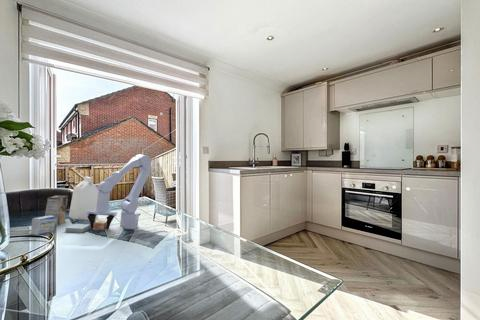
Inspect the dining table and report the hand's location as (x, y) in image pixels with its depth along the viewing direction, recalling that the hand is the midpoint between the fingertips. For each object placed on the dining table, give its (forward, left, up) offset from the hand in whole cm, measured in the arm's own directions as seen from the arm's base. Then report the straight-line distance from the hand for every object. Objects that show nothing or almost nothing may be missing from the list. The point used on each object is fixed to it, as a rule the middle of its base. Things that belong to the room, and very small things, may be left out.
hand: (100, 228), depth 126 cm
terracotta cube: (0, 0, -2) cm, 2 cm away
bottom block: (+9, +4, -2) cm, 10 cm away
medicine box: (+22, +10, -2) cm, 24 cm away
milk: (+20, -25, -2) cm, 32 cm away
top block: (+9, +4, 0) cm, 10 cm away
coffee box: (+25, -5, -2) cm, 26 cm away
